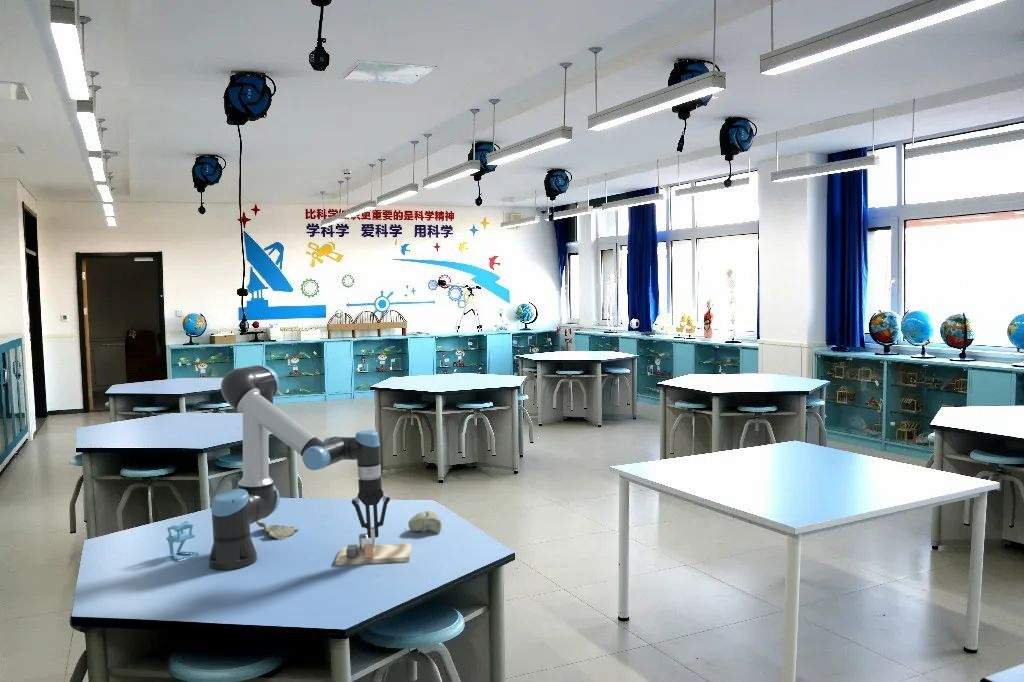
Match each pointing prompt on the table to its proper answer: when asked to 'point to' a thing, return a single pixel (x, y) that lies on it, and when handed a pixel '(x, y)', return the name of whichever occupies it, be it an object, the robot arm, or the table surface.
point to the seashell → (425, 522)
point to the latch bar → (366, 546)
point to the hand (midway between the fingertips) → (373, 546)
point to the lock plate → (377, 555)
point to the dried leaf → (277, 530)
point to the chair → (180, 539)
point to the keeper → (351, 551)
